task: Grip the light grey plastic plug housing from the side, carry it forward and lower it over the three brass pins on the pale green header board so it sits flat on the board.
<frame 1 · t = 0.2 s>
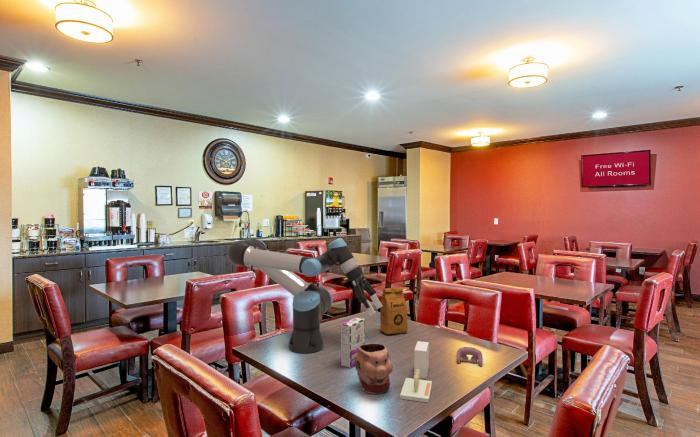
hand: (376, 311, 173), 15 cm above the table, tool tilted 35°, fingers open, 13 cm apart
plug housing: (421, 372, 144), on the table
decorative planter: (372, 386, 133), on the table
coffee package: (393, 332, 190), on the table
header board: (416, 391, 130), on the table
video game controller: (469, 363, 154), on the table
candy bar box: (352, 362, 154), on the table
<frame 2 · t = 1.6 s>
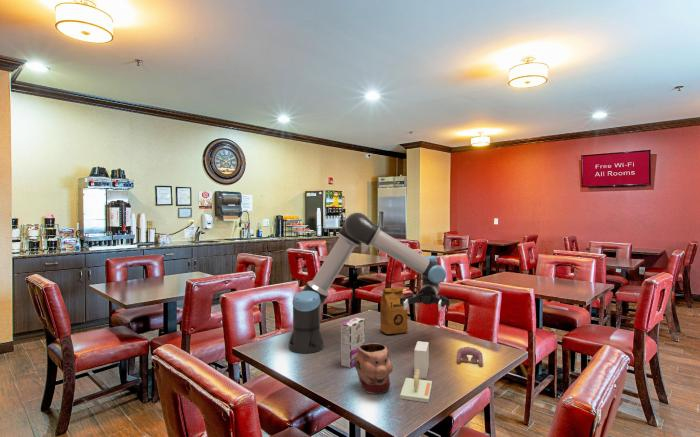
hand: (421, 306, 153), 22 cm above the table, tool horizontal, fingers open, 13 cm apart
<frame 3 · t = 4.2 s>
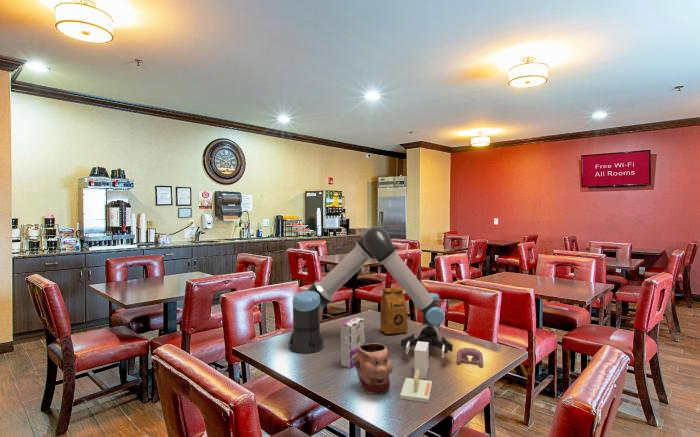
hand: (424, 352, 149), 6 cm above the table, tool horizontal, fingers open, 13 cm apart
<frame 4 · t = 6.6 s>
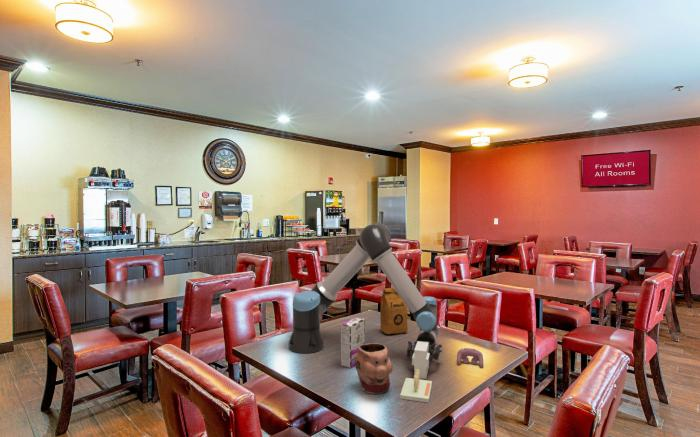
hand: (420, 362, 139), 6 cm above the table, tool horizontal, fingers closed on plug housing, 4 cm apart
plug housing: (421, 372, 144), on the table, touching gripper
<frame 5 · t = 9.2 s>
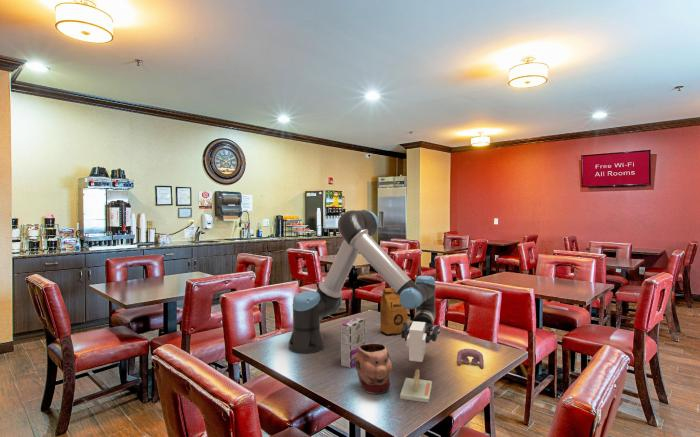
hand: (415, 343, 124), 18 cm above the table, tool horizontal, fingers closed on plug housing, 4 cm apart
plug housing: (417, 355, 130), point 12 cm above the table, touching gripper
when the fingers open (8 cm above the table, at t = 11.9 s): plug housing drops 1 cm, resting on header board.
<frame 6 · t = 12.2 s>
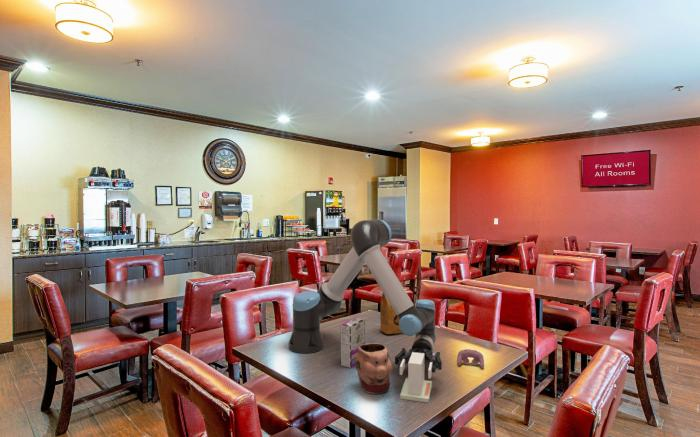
hand: (415, 372, 125), 8 cm above the table, tool horizontal, fingers open, 8 cm apart
plug housing: (416, 387, 130), point 1 cm above the table, touching header board
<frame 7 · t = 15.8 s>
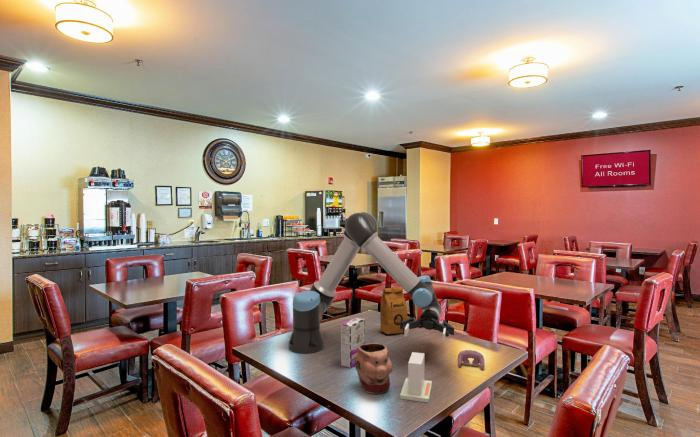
hand: (424, 335, 140), 15 cm above the table, tool horizontal, fingers open, 13 cm apart
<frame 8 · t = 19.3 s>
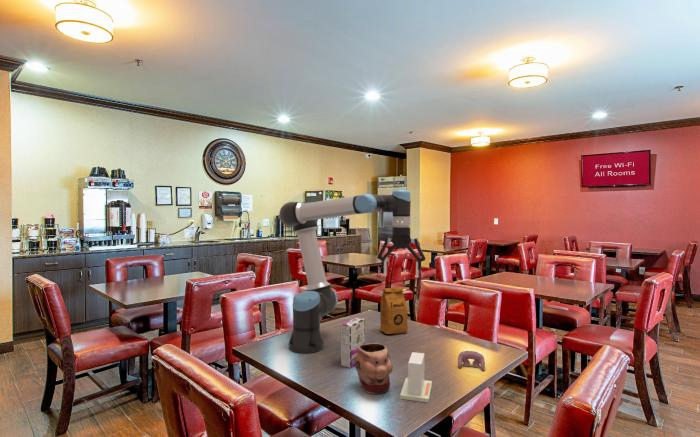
hand: (401, 276, 165), 32 cm above the table, tool pointing down, fingers open, 13 cm apart
at the end: plug housing 0.1 cm off-centre on the header board, point 1.2 cm above the header board's base; plug housing tilted 0°; the gripper is holding nothing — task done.
